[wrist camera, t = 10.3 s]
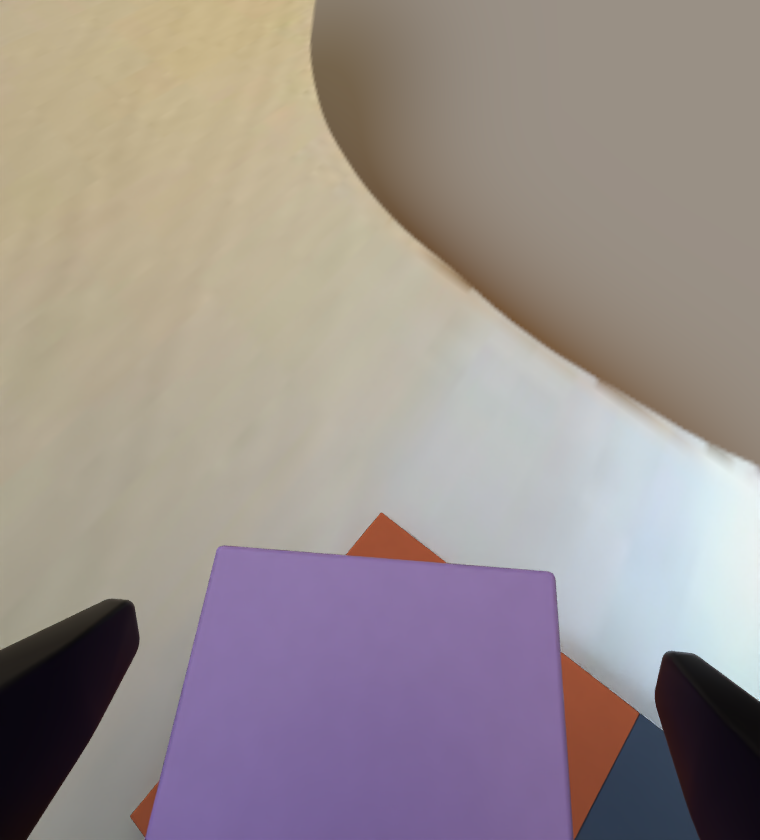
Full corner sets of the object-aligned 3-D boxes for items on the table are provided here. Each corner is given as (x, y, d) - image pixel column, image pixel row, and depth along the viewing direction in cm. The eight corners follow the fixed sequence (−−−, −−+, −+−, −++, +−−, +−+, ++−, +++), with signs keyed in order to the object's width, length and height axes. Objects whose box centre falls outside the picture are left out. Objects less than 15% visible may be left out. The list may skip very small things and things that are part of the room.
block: (487, 847, 12) (596, 1125, 4) (290, 818, 13) (95, 1022, 5) (486, 627, 14) (556, 571, 7) (319, 611, 15) (215, 543, 7)
